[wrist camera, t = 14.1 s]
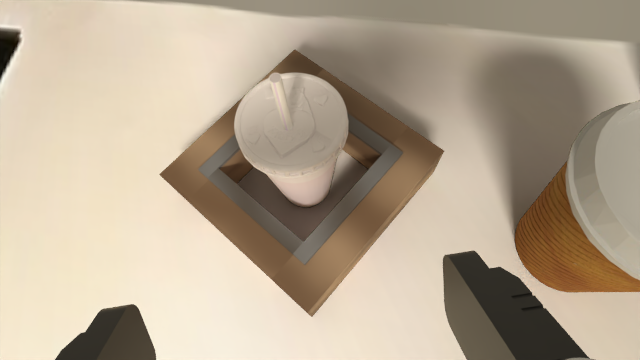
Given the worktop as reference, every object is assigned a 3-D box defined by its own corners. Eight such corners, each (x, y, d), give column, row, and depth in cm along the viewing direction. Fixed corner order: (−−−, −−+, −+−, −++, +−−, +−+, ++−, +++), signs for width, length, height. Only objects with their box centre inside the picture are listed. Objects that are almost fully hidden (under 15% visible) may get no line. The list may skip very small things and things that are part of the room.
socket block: (299, 77, 35) (294, 46, 31) (433, 171, 31) (445, 148, 27) (178, 192, 31) (157, 172, 28) (312, 316, 27) (306, 312, 24)
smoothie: (256, 217, 30) (189, 120, 17) (275, 142, 32) (228, 7, 19) (341, 230, 29) (337, 138, 16) (353, 152, 32) (358, 19, 19)
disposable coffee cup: (665, 292, 26) (896, 253, 15) (531, 336, 26) (670, 329, 15) (587, 167, 30) (728, 62, 19) (468, 204, 29) (542, 117, 18)
